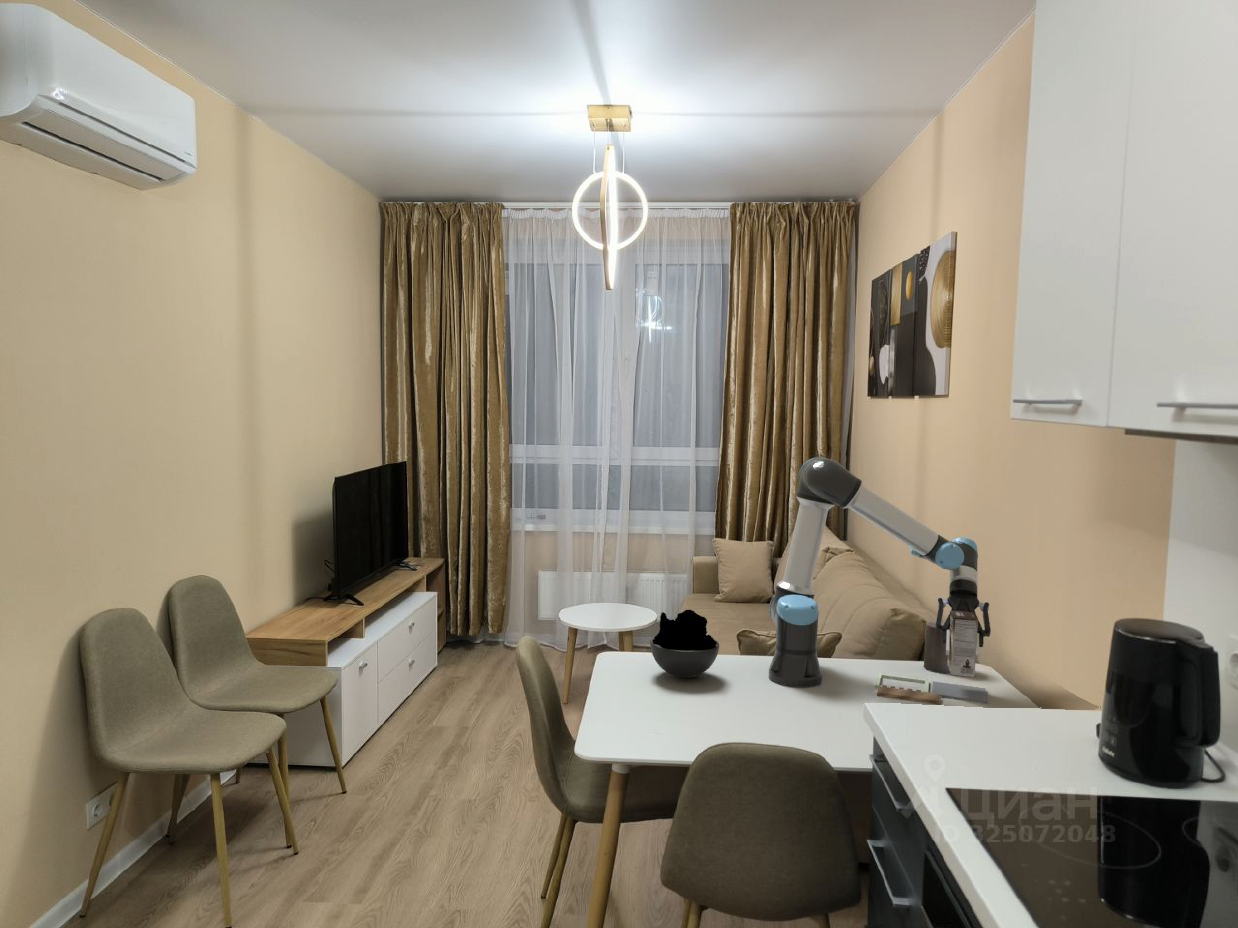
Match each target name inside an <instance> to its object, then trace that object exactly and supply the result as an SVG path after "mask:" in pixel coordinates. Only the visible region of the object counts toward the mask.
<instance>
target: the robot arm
mask: <svg viewBox="0 0 1238 928" xmlns="http://www.w3.org/2000/svg"><path fill="white" fill-rule="evenodd" d="M798 483H799V484H798V487H797V493H796V500H797V501H798V502H799V506H798V507H799V508H798V510H797V516H796V520H795V523H794V524H795V525H794V529H793V534H792V538H791V542H790V547H789V552H788V556H787V561H786V566H785V569H784V574H783V577H782V580H780V581H778V582H777V583H776V586H775V587H776V588H775V591H774V594H773V596H772V598H771V600H770V603H769V614H770V615H769V616H770V619H771V620H772V621H773V624H774V625H775V628H776V629H775V630H776V634H775V635H776V636H775V652H774V655H773V657H772V660H771V663H770V665H769V668H768V678H769V679H770V681H772V682H773V683H777V684H780V685H783V686H789V687H794V688H795V687H796V688H807V687H808V688H809V687H816V686H819V685H820V684H822V682H823V672H822V669H821V666H820V662H819V658H818V654H817V653H818V652H817V651H818V648H817V647H818V631H819V629H818V628H819V627H818V626H819V617H820V616H819V615H820V611H819V605H818V603H817V601H816V600H815V599H814V598H815V594H816V592H815V591H814V589H813V587H812V584H813V581H814V575H815V571H816V567H817V562H818V557H819V552H820V549H821V544H822V539H823V535H824V531H825V527H826V521H827V517H828V512H829V510H831V509H832V508H834V507H835V505H837V506H839V507H840V508H842V509H849V510H851V511H853V512H854V513H855V514H857V515H859V516H860V517H862V518H863V519H865V520H866V521H868V522H870V523H872V524H873V525H875V526H876V527H878V528H879V529H881V530H883V531H884V532H885V533H886V534H889V535H890V536H892V537H893V538H894V539H896V540H898V541H900V542H901V543H903V544H904V545H906V546H907V547H909V552H910V554H911V555H913V556H914V557H915V556H916V557H917V558H921V559H923V560H927V561H929V562H931V563H933V564H934V565H936V566H938V567H940V568H941V569H943V570H949V590H948V595H949V596H948V597H947V598H942V597H938V598H937V606H938V611H937V615H936V620H935V621H936V631H940V632H942V643H946V655H949V637H950V630H948V629H949V627H950V613H949V614H948V616H947V617H946V620H945V621H944V622H945V623H944V625H943V626H942V625H941V622H942V621H943V615H944V608H946V606H947V605H948V606H949V607H950V608H951V610H950V611H964V612H974V614H975V615H976V617H977V619H978V628H977V644H976V660H977V659H978V660H979V659H980V657H979V656H980V648H983V647H984V643H985V641H984V638H985V637H988V638H989V637H990V636H991V633H992V632H991V630H992V629H991V623H990V616H989V607H990V603H989V602H986V601H985V602H982V601H981V602H980V600H979V599H978V598H979V597H978V559H979V553H978V545H977V543H976V542H975V541H974V540H973V539H971V538H968V537H964V538H963V537H956V538H954V539H953V540H952V541H950V540H948V539H947V538H945V537H944V536H942V535H941V534H938V533H937V532H936V531H934V530H933V529H931V528H930V527H928V526H926V525H925V524H923V523H922V522H920V521H919V520H917V518H916V519H915V518H914V517H912V516H911V515H910V514H909V513H907V512H904V511H903V510H902V509H900V508H899V507H897V506H896V505H894V504H893V503H890V502H889V501H887V499H884V498H883V497H882V496H880V495H878V494H876V493H875V492H874V491H872V490H870V488H868V487H866V486H864V483H863V480H861V479H860V478H859V477H857V476H856V475H854V474H853V473H851V471H849V470H848V469H847V468H845V466H843V465H842V464H841V463H839V462H838V461H837V460H835V459H831V458H827V457H824V456H823V457H822V456H818V457H817V456H816V457H813V458H810V459H808V460H807V461H805V462H804V463H803V464H802V466H801V468H800V469H799V472H798ZM978 608H979V609H980V611H981V612H982V621H983V627H984V629H983V627H982V625H981V623H980V620H979V618H978V616H977V614H976V609H978Z"/></svg>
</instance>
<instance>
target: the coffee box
mask: <svg viewBox="0 0 1238 928" xmlns="http://www.w3.org/2000/svg"><path fill="white" fill-rule="evenodd" d="M949 614H950V627H949V630H950V637H949V655H948V667H949V670H950V673H949V674H950V675H954V676H955V675H956V676H962V677H963V676H965V677H974V678H975V675H976V673H975V672H976V660H977V659H976V644H977V628H978V620H979V618H978V616H977V617H976V615H977V614H976V615H975V614H974V612H964V611H951V610H949ZM977 618H978V619H977Z"/></svg>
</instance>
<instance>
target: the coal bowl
mask: <svg viewBox="0 0 1238 928" xmlns="http://www.w3.org/2000/svg"><path fill="white" fill-rule="evenodd" d="M667 617H668V616H667V614H666V612H663V611H662V612H661V613H660V617H659V618H660V619H659V630H658V633H657V634H656V635H655V636H654V637H652V638H651V639H650V641H649V646H650V647H649V648H650V650H651V655H652V656H653V659H654V661H655V663H656V664H657V665H658V666H659V668H660V669H662V670H663V671H664V672H665V673H668V674H669V675H671V676H674V677H677V678H682V679H683V678H684V679H688V678H694V677H697V676H700V675H701V674H703V673H705V672H706V671H707V670H708V669H710V668H711V667H712V665H713V664H714V662H716V661H715V660H716V658H717V657H718V654H719V650H720V643H719V642H718V641H717V640H716V639H714V638H713V636H711V634H707V633H708V631H707V624H708V619H707V618H706V617H705V616H702V615H700V614H698V613H696V612H695V610H692V609H685V610H683V611H681V612H680V613H677V614H676V617H675V619H673V618H672V619H669V618H667Z"/></svg>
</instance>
